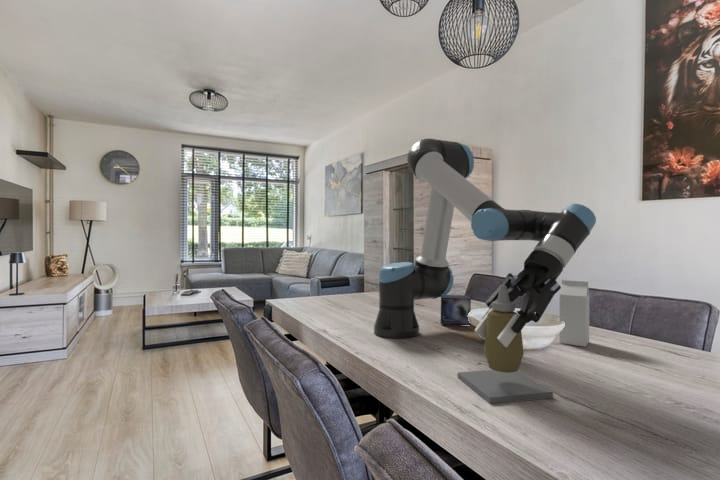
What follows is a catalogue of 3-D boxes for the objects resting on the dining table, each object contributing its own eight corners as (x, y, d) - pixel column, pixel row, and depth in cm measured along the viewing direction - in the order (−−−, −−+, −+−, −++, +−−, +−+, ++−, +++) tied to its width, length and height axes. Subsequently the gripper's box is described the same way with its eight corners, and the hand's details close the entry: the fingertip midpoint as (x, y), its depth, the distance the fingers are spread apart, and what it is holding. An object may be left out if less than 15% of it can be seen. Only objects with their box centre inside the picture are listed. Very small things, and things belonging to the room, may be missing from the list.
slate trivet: (457, 377, 89) (457, 372, 89) (512, 373, 92) (512, 368, 91) (489, 403, 75) (489, 397, 75) (552, 397, 78) (552, 391, 78)
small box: (440, 325, 140) (441, 297, 140) (440, 321, 146) (440, 294, 146) (471, 327, 138) (471, 297, 138) (468, 322, 145) (469, 295, 145)
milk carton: (585, 347, 113) (586, 282, 113) (559, 343, 117) (559, 281, 117) (589, 342, 118) (589, 280, 118) (563, 338, 123) (563, 279, 123)
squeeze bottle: (494, 360, 89) (494, 282, 89) (529, 368, 83) (530, 285, 83) (476, 368, 83) (476, 285, 83) (513, 378, 77) (513, 289, 77)
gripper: (596, 275, 79) (535, 363, 74) (524, 267, 98) (471, 338, 92) (577, 249, 77) (513, 338, 72) (507, 247, 96) (452, 317, 90)
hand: (490, 338), depth 82 cm, fingers closed on squeeze bottle, 6 cm apart
